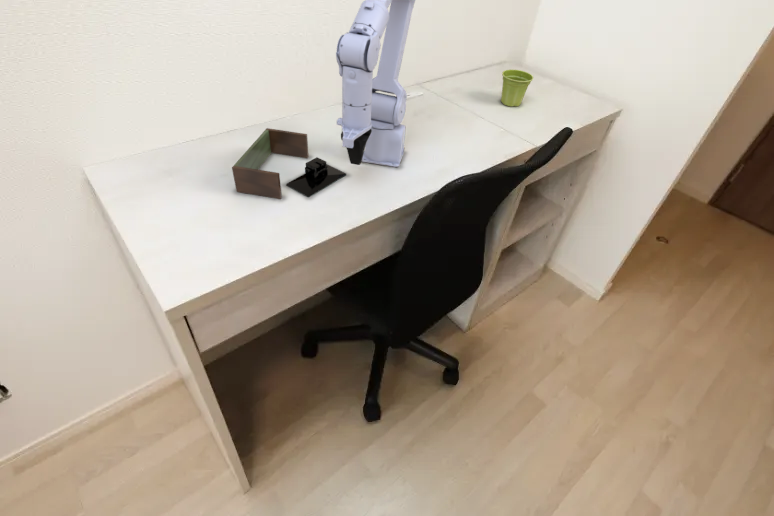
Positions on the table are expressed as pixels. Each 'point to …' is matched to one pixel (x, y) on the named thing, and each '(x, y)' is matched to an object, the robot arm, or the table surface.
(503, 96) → the plant pot
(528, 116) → the table surface
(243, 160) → the stall
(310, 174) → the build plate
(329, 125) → the table surface
